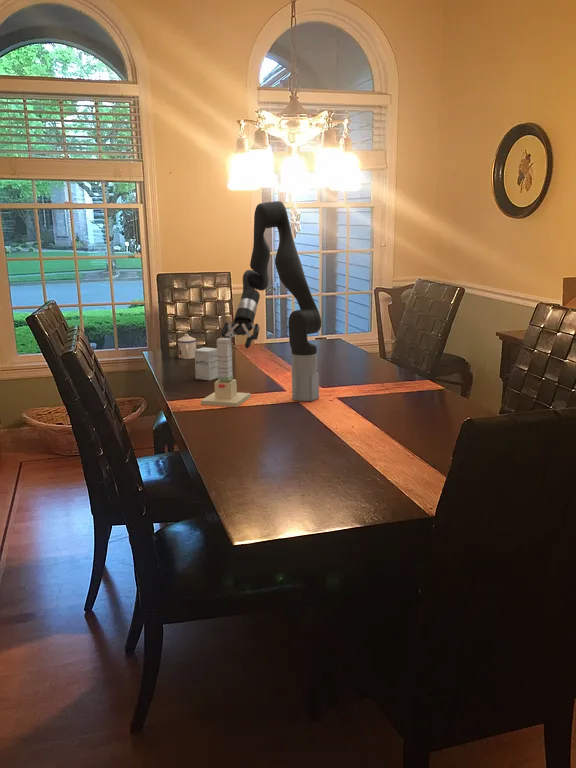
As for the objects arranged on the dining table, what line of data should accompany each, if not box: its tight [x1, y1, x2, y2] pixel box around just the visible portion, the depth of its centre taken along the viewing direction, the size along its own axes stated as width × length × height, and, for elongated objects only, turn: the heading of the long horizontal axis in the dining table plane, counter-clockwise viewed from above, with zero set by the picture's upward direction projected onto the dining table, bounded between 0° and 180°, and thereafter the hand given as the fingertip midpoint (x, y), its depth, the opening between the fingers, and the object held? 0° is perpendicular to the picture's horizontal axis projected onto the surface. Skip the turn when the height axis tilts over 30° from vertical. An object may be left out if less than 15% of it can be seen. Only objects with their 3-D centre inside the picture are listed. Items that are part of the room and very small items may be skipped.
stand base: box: [200, 378, 252, 408], centre depth 240 cm, size 14×14×8 cm
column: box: [216, 337, 234, 381], centre depth 237 cm, size 4×4×15 cm
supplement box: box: [194, 347, 218, 381], centre depth 275 cm, size 7×7×13 cm
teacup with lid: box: [177, 333, 197, 360], centre depth 317 cm, size 12×9×12 cm
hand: (236, 346), depth 247 cm, fingers open, 8 cm apart
